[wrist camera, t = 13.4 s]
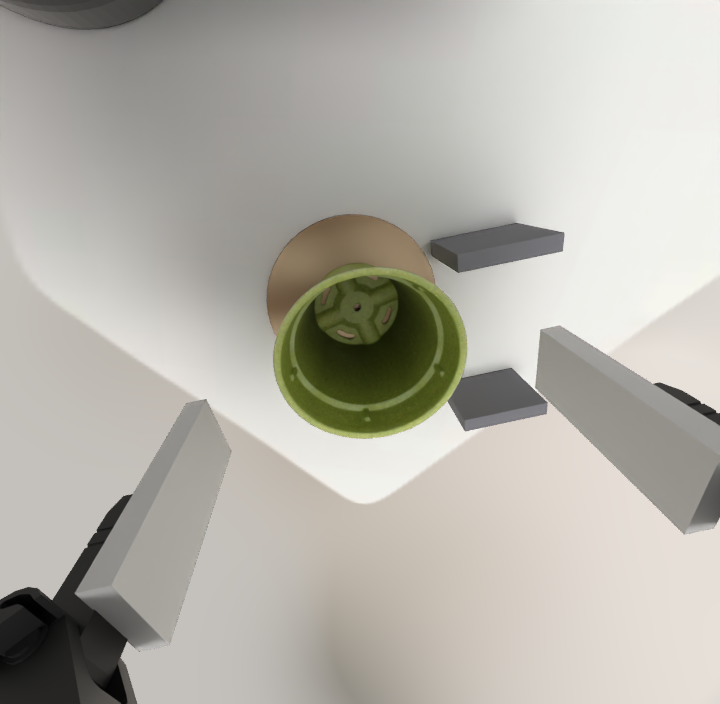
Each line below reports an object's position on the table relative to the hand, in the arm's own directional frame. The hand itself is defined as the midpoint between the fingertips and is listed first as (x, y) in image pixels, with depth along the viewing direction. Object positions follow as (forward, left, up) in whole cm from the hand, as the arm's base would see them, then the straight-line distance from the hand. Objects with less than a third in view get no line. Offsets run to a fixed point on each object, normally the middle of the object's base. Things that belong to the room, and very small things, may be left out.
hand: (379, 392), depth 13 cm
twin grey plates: (+3, +9, -12) cm, 15 cm away
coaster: (0, 0, -12) cm, 12 cm away
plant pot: (0, 0, -12) cm, 12 cm away
